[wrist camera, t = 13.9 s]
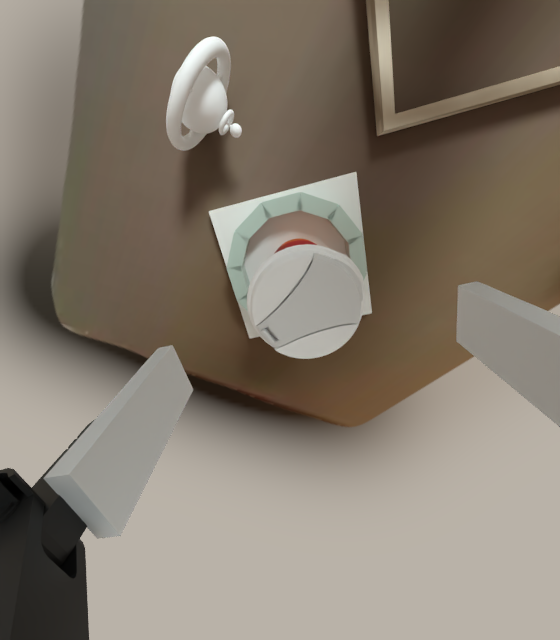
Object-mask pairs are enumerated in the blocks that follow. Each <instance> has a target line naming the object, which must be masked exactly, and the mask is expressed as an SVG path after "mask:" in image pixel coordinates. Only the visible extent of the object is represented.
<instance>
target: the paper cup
mask: <svg viewBox="0 0 560 640" xmlns="http://www.w3.org/2000/svg"><path fill="white" fill-rule="evenodd" d="M364 306H365V292H364V282H363V276H362V274H361V272H360V270H359V269H358V267H357V266H356V265H355V263H354V262H353V261H352V260H351V259H350V258H349V257H348V256H347V255H344V254H342V253H339V252H337V251H334V250H332V249H330V248H327V247H323V246H319V245H317V244H315V243H313V242H311V241H309V240H306V239H300V238H298V239H292V240H289V241H287V242H285V243H284V244H282V245H281V246H280V247H279V248H278V249H277V250H276V252H275V253H274V254H273V255H272V256H270V257H269V258H268V259H267V260H266V261H264V262H263V263H262V265H261V266H260V267H259V268H258V269H257V271H256V272H255V274H254V276H253V278H252V280H251V282H250V285H249V288H248V293H247V310H248V315H249V318H250V321H251V323H252V325H253V327H254V329H255V330H256V332H257V333H258V335H259V336H260V337H261V338H262V339H263V340H264V341H265V342H266V343H268V344H269V345H271V346H272V347H274V349H275V350H276V351H277V352H279V353H281V354H284V355H286V356H289V357H294V358H300V359H311V358H317V357H322V356H325V355H328V354H330V353H332V352H334V351H336V350H337V349H339V348H340V347H342V346H343V345H344V344H345V343H346V342H347V341H348V340H349V339H350V338H351V337H352V335H353V334H354V332H355V331H356V329H357V327H358V325H359V322H360V320H361V317H362V314H363V310H364Z"/></svg>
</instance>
